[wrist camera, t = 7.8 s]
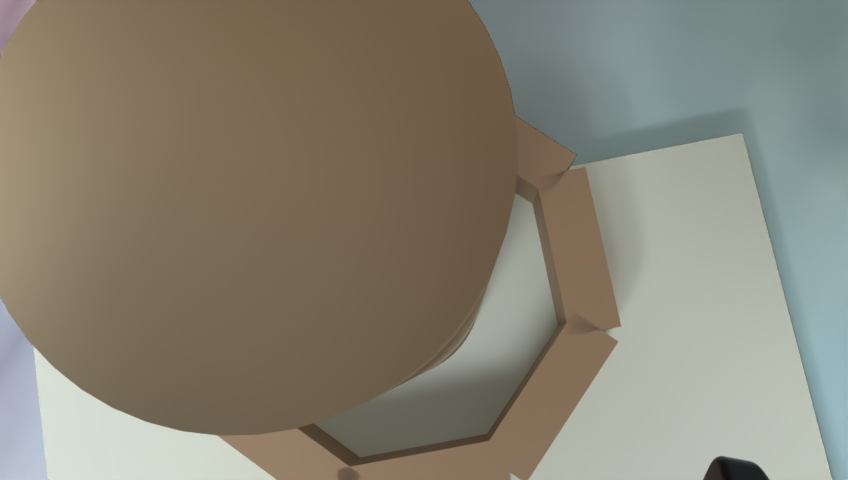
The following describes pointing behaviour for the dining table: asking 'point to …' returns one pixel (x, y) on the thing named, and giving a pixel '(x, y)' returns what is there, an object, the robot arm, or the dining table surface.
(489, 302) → the board
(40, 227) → the dowel
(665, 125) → the dining table surface
